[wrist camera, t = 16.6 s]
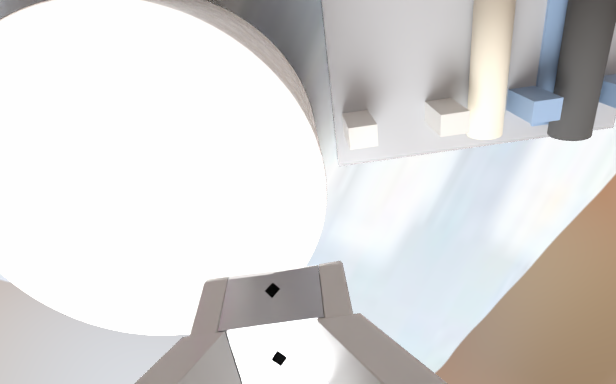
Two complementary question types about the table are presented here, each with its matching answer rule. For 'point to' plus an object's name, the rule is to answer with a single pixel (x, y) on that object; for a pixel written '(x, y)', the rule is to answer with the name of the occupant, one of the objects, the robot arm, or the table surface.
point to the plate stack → (149, 158)
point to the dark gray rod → (582, 66)
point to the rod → (489, 66)
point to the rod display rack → (438, 76)
